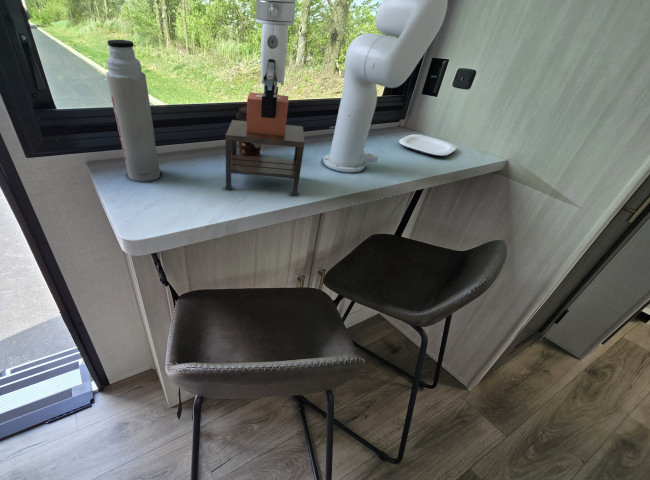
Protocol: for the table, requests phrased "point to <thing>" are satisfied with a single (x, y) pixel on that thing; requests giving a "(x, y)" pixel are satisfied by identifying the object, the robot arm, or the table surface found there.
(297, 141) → the slatted side table
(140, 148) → the thermos bottle
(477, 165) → the table surface
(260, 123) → the tissue box
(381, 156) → the table surface
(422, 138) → the plate
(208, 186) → the table surface
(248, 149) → the coffee cup
